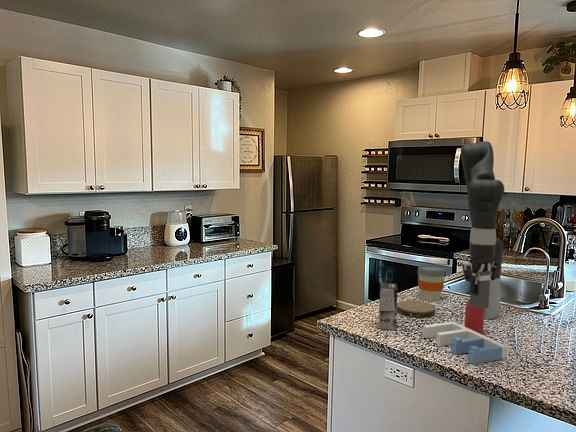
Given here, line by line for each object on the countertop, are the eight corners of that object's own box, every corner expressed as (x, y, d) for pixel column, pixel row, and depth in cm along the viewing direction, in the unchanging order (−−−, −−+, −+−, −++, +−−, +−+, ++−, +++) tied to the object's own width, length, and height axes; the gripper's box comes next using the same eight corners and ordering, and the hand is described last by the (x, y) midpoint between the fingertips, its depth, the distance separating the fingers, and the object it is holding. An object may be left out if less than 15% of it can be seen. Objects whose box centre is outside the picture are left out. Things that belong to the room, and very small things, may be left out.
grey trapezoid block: (478, 303, 142) (480, 268, 141) (488, 307, 138) (490, 271, 137) (469, 305, 140) (471, 269, 139) (478, 309, 137) (480, 272, 135)
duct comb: (452, 331, 162) (453, 318, 162) (506, 358, 139) (507, 343, 139) (422, 336, 157) (423, 323, 157) (472, 364, 134) (473, 349, 134)
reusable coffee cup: (440, 304, 196) (441, 272, 194) (413, 299, 202) (414, 268, 201) (446, 297, 206) (448, 267, 204) (420, 293, 213) (421, 263, 211)
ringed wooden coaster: (400, 304, 195) (400, 298, 195) (436, 309, 188) (437, 303, 188) (393, 315, 181) (393, 308, 180) (432, 321, 174) (433, 314, 174)
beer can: (482, 329, 165) (484, 299, 164) (484, 335, 159) (485, 304, 157) (463, 327, 167) (465, 297, 166) (464, 333, 161) (466, 302, 159)
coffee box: (396, 330, 163) (397, 289, 161) (379, 329, 164) (380, 288, 162) (395, 322, 172) (396, 283, 170) (378, 320, 173) (380, 282, 171)
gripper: (490, 239, 143) (487, 289, 145) (456, 241, 138) (453, 292, 140) (509, 242, 136) (505, 295, 138) (474, 245, 131) (471, 299, 133)
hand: (479, 293), depth 139 cm, fingers closed on grey trapezoid block, 4 cm apart
